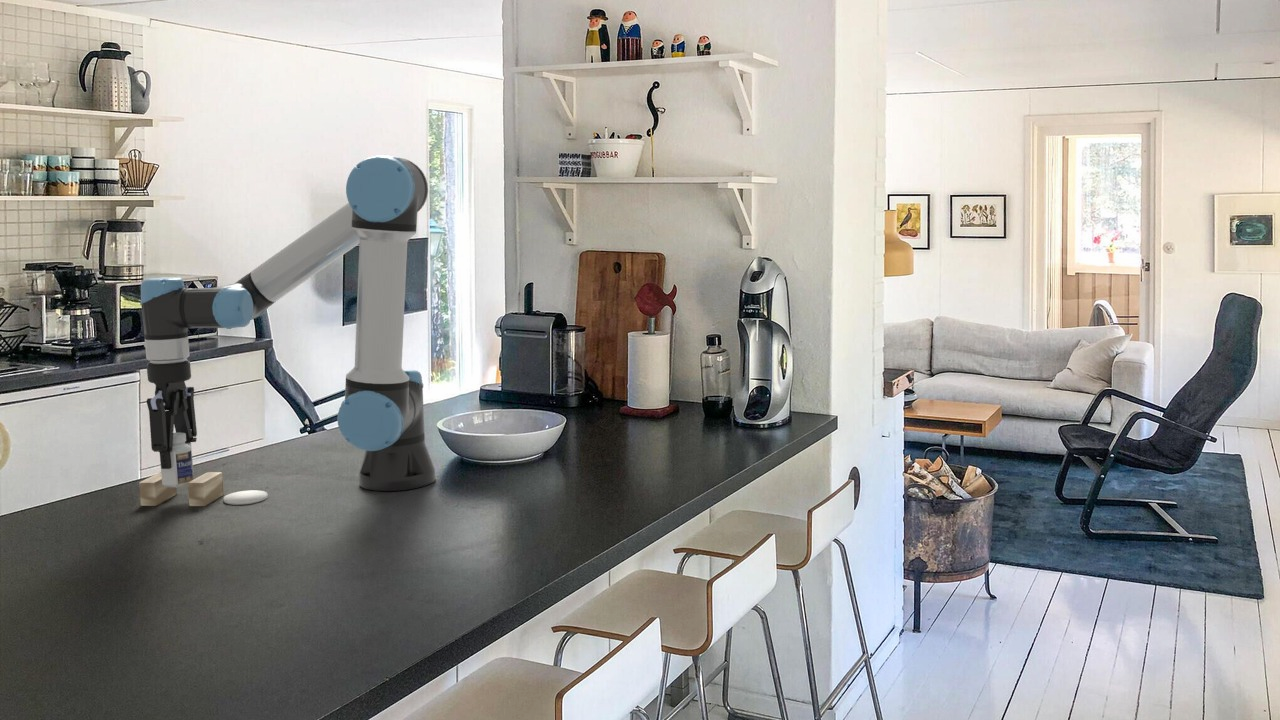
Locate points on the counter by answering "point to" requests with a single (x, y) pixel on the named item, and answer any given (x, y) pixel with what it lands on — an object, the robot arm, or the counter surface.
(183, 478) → the pill bottle
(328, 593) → the counter surface
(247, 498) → the pad
